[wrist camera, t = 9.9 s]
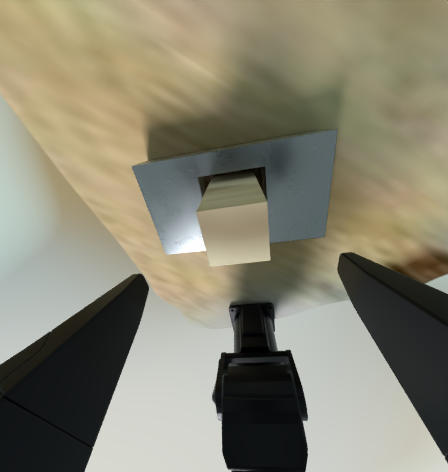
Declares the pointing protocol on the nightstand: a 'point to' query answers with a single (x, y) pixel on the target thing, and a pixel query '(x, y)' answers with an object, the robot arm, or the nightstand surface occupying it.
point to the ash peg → (234, 220)
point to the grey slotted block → (234, 159)
